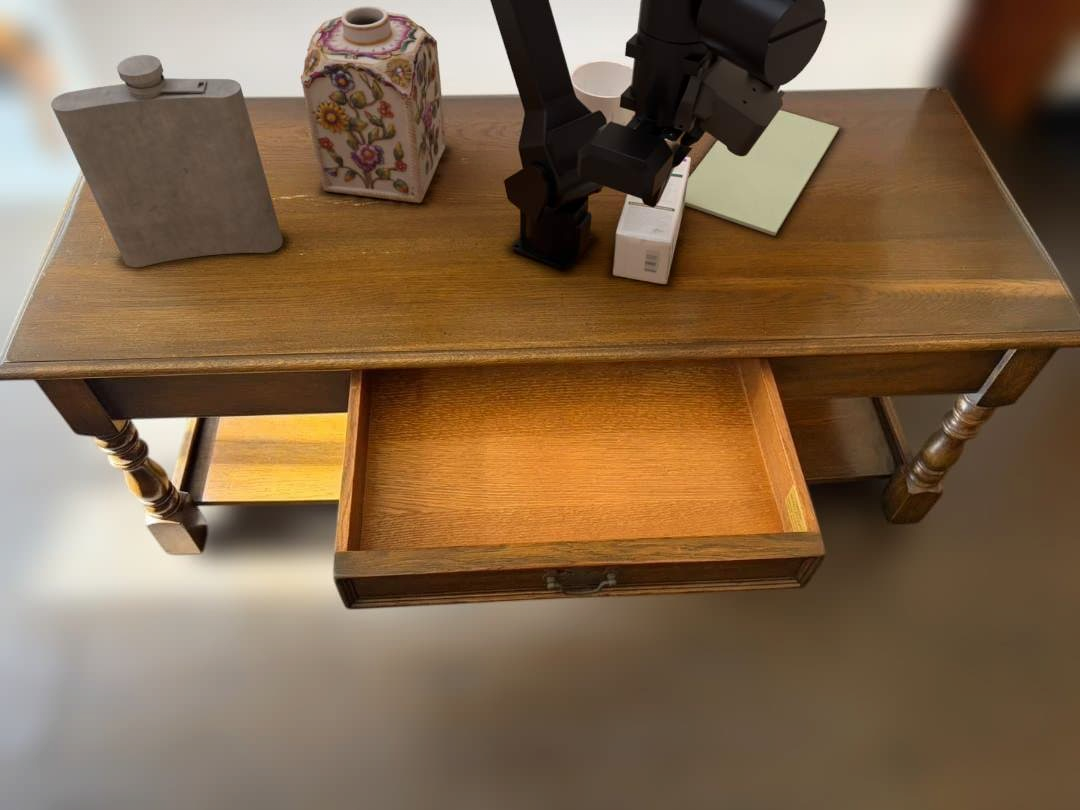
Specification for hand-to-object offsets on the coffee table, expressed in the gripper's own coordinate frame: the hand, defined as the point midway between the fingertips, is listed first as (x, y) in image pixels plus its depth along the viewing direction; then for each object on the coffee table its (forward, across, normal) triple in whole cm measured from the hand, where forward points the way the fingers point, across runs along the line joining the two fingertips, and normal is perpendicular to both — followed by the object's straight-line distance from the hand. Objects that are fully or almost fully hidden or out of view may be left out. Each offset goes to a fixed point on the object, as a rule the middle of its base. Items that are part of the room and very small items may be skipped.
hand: (650, 203), depth 72 cm
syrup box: (+10, +4, +2) cm, 11 cm away
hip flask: (+13, -14, +43) cm, 47 cm away
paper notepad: (+13, +31, -2) cm, 33 cm away
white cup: (+13, +22, +15) cm, 30 cm away
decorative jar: (+13, +7, +35) cm, 38 cm away
